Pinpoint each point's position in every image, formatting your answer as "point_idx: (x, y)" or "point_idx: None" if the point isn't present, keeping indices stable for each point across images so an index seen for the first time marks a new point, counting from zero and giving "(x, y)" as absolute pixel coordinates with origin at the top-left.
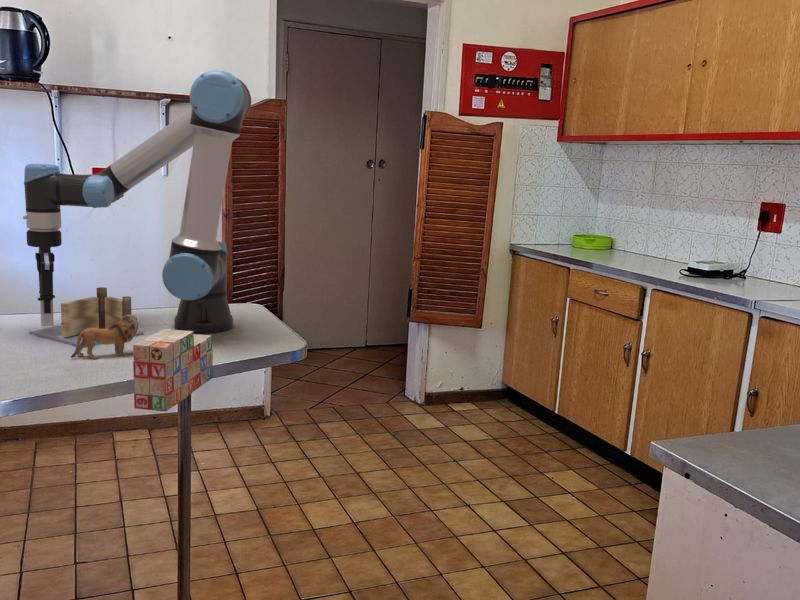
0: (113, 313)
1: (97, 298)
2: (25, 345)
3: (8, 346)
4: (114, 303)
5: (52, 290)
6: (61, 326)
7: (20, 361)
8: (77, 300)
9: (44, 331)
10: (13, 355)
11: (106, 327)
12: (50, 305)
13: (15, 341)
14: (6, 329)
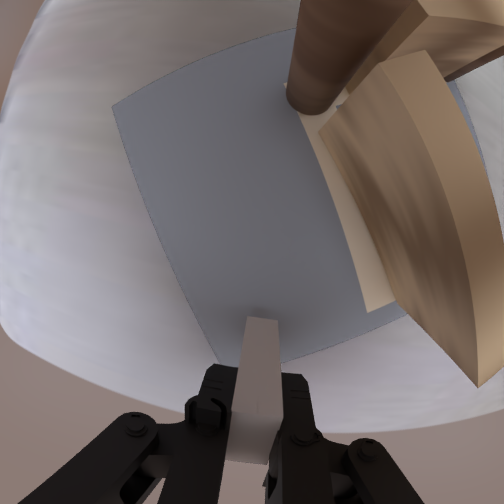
0: (442, 54)
1: (426, 59)
2: (380, 398)
3: (361, 429)
4: (484, 34)
5: (412, 491)
6: (183, 254)
7: (483, 398)
8: (479, 268)
9: None
10: (442, 414)
11: None
12: (311, 408)
13: (316, 416)
14: (140, 400)
